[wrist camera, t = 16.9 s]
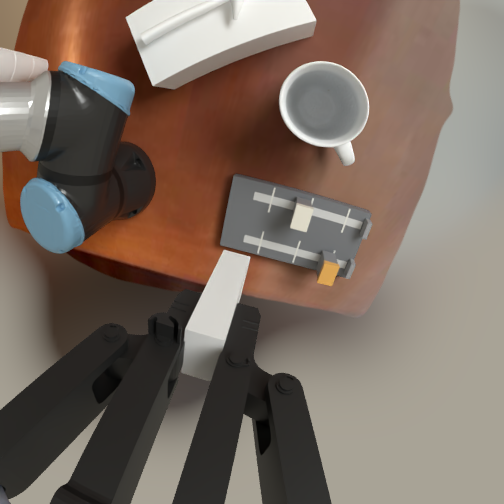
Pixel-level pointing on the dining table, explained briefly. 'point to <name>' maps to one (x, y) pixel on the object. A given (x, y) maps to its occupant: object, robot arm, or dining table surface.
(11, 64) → the white paper towel roll
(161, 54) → the tissue box
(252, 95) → the dining table surface
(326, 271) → the fader orange
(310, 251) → the console
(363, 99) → the mug
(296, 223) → the fader cream
